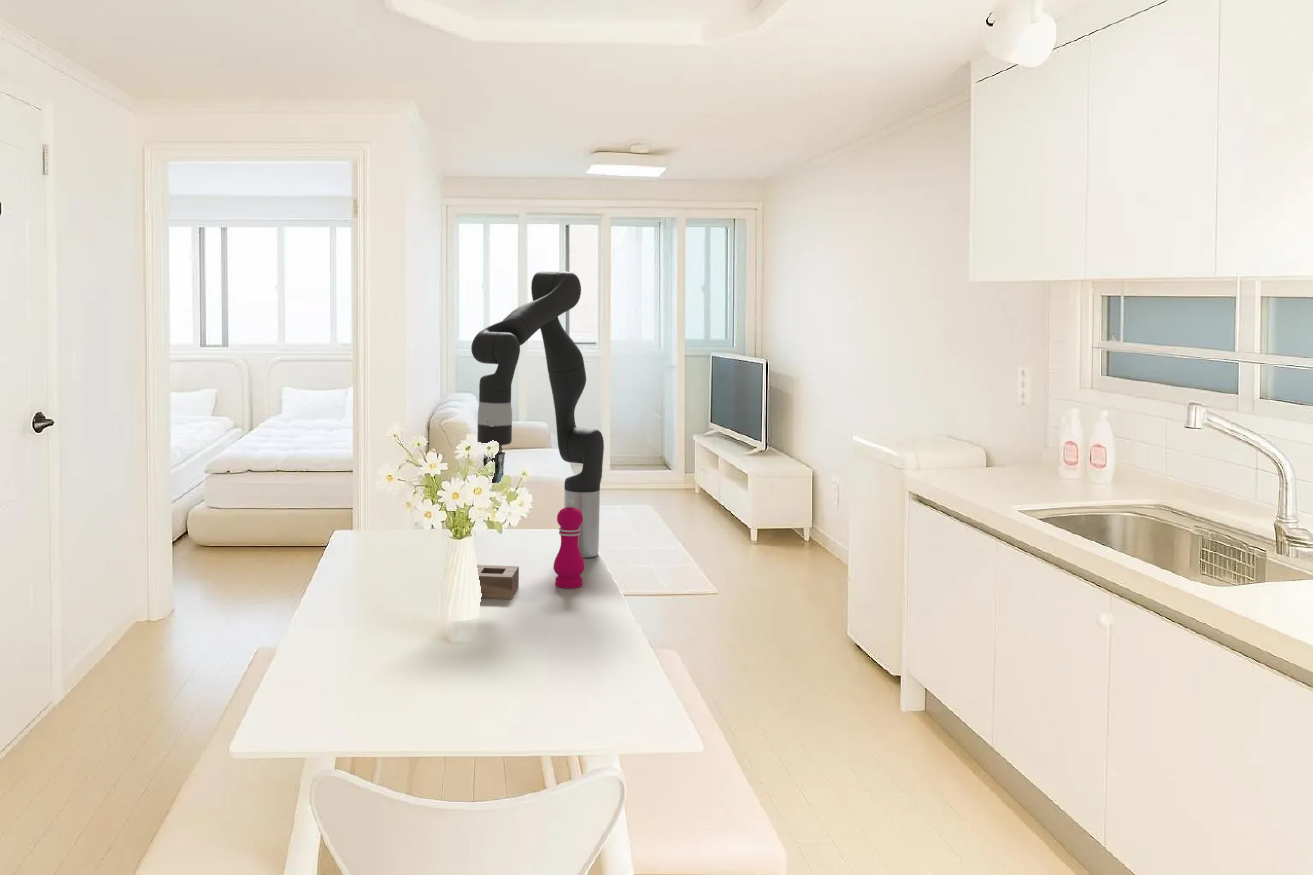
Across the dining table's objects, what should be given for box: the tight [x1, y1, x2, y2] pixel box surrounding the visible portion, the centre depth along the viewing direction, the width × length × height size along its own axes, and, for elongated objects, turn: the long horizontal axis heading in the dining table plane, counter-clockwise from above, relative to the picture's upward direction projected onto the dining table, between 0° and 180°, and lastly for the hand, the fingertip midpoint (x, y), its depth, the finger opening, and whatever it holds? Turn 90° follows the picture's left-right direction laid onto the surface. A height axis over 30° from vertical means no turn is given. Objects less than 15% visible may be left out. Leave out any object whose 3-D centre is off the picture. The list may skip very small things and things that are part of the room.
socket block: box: [476, 564, 520, 600], centre depth 247 cm, size 10×10×5 cm
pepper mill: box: [553, 501, 586, 589], centre depth 255 cm, size 7×7×20 cm
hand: (493, 498), depth 245 cm, fingers closed on peg, 3 cm apart
